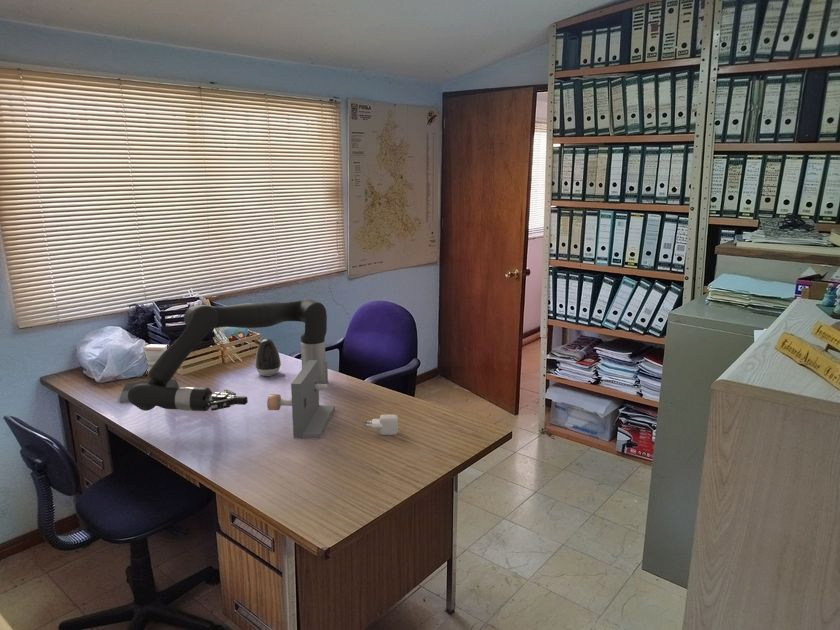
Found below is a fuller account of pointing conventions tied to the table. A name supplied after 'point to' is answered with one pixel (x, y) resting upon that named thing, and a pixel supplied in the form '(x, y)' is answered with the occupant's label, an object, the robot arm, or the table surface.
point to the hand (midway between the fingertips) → (246, 400)
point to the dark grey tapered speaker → (267, 358)
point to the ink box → (153, 353)
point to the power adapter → (385, 424)
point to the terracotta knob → (277, 402)
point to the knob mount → (308, 404)
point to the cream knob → (321, 386)
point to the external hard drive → (129, 385)
